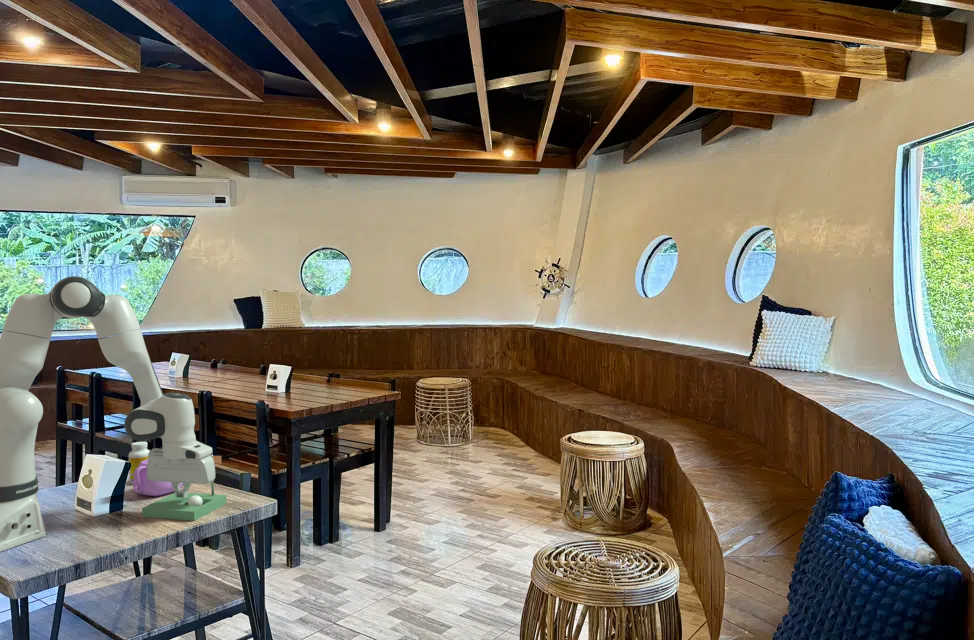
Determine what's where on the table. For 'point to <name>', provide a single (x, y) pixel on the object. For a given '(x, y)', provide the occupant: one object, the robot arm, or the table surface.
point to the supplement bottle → (137, 456)
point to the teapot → (149, 483)
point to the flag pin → (218, 460)
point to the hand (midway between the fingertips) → (181, 497)
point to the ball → (195, 501)
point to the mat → (183, 507)
